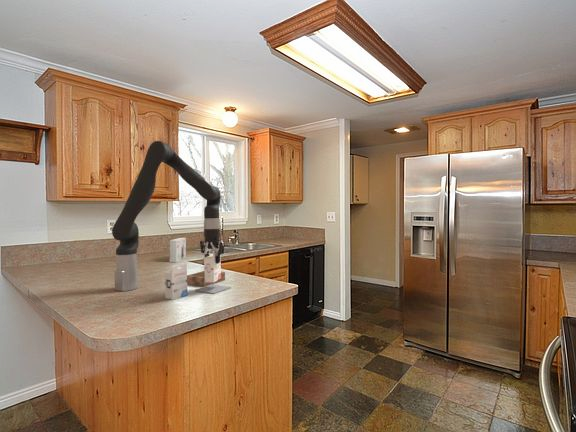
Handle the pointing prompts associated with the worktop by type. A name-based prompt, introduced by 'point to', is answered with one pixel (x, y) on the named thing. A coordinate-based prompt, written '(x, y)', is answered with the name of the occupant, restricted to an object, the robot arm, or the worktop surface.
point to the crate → (202, 279)
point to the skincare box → (177, 249)
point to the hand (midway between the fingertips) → (212, 262)
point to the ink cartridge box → (212, 268)
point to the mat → (213, 289)
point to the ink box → (176, 282)
